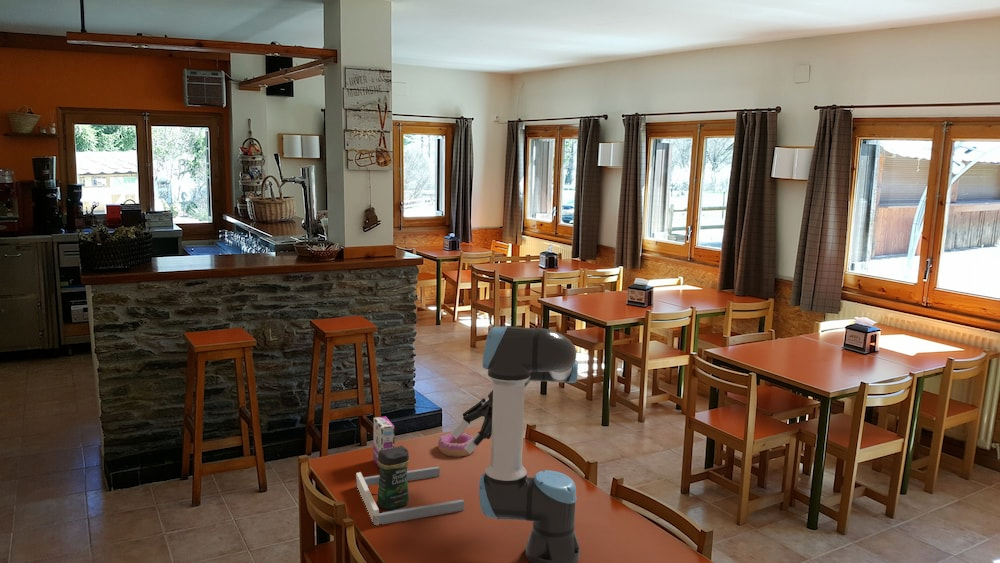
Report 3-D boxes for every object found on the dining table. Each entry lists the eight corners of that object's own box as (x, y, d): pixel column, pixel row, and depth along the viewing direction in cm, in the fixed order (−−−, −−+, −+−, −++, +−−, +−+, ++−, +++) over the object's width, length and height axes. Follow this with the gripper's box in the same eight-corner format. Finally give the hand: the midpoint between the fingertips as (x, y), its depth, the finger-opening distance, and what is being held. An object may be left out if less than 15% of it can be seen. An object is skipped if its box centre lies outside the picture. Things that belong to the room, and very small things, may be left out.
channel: (463, 510, 228) (464, 495, 227) (374, 525, 217) (373, 510, 216) (438, 474, 252) (438, 461, 251) (356, 486, 242) (356, 472, 241)
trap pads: (416, 516, 223) (416, 515, 223) (384, 521, 220) (384, 520, 220) (397, 482, 245) (397, 482, 245) (367, 487, 241) (367, 486, 241)
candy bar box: (395, 470, 255) (395, 426, 252) (381, 472, 252) (381, 428, 250) (386, 458, 265) (386, 415, 262) (372, 460, 262) (372, 417, 260)
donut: (447, 461, 264) (448, 448, 263) (432, 447, 276) (432, 434, 275) (482, 454, 270) (483, 441, 270) (465, 440, 283) (466, 428, 282)
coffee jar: (385, 512, 225) (385, 456, 222) (374, 502, 231) (373, 447, 228) (412, 504, 230) (413, 449, 227) (401, 494, 237) (401, 441, 233)
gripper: (525, 413, 232) (480, 464, 229) (496, 391, 255) (454, 436, 251) (510, 399, 229) (465, 450, 226) (482, 377, 252) (440, 424, 248)
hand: (459, 443), depth 239 cm, fingers open, 13 cm apart
